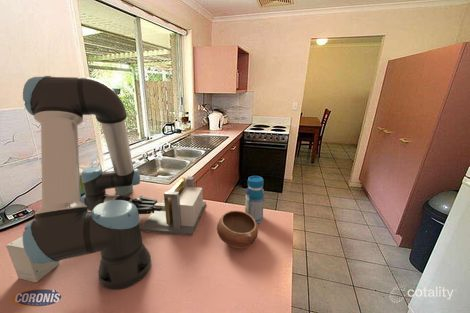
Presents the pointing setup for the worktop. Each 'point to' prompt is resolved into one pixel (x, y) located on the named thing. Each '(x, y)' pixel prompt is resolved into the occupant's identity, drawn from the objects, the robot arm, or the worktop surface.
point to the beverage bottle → (255, 198)
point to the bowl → (237, 229)
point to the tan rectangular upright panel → (168, 203)
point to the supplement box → (27, 262)
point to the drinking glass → (124, 190)
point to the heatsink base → (162, 225)
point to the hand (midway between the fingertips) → (170, 207)
